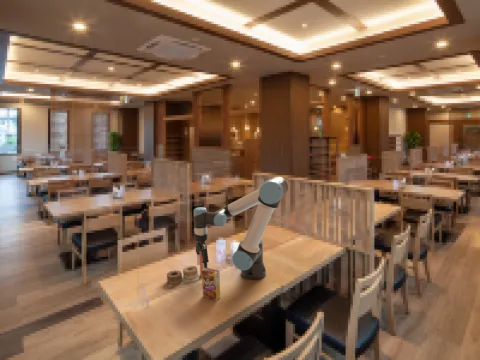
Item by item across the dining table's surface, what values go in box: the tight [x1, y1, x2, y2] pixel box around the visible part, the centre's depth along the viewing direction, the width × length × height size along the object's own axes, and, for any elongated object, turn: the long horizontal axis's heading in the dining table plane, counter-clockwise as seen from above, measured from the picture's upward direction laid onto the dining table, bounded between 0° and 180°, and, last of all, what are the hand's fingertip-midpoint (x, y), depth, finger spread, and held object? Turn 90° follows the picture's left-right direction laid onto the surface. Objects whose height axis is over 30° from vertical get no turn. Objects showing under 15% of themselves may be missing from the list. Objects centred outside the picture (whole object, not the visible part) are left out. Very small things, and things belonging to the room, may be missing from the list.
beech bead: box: [182, 265, 199, 280], centre depth 177 cm, size 8×8×5 cm
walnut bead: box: [166, 270, 183, 286], centre depth 171 cm, size 8×8×5 cm
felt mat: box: [165, 274, 200, 287], centre depth 174 cm, size 18×10×1 cm, turn 114°
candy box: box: [201, 267, 221, 302], centre depth 154 cm, size 9×4×15 cm, turn 61°
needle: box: [199, 251, 203, 277], centre depth 177 cm, size 3×3×16 cm
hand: (202, 268), depth 178 cm, fingers open, 11 cm apart
